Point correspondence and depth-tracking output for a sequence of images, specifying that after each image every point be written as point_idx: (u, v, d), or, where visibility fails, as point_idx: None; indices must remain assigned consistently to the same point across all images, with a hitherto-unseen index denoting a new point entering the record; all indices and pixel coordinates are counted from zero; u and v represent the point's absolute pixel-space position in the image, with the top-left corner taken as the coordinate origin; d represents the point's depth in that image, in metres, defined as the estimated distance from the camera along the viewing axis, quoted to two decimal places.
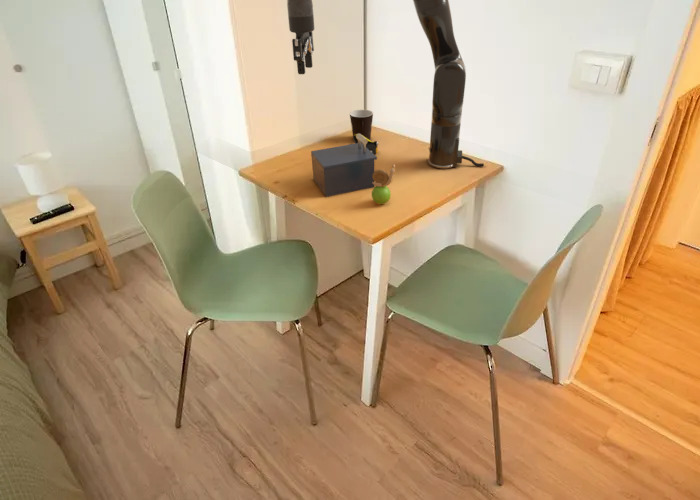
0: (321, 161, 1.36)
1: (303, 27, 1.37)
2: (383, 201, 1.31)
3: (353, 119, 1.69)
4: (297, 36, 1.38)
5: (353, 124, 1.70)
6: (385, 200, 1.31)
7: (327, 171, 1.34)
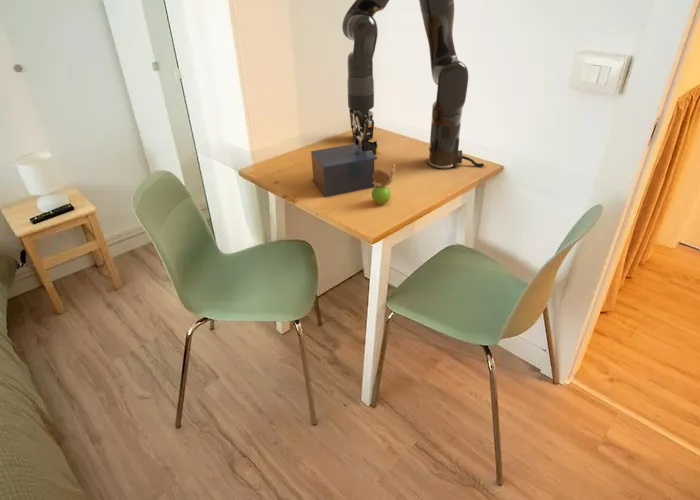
0: (321, 161, 1.36)
1: (370, 104, 1.31)
2: (383, 201, 1.31)
3: None
4: (364, 114, 1.32)
5: None
6: (385, 200, 1.31)
7: (327, 171, 1.34)
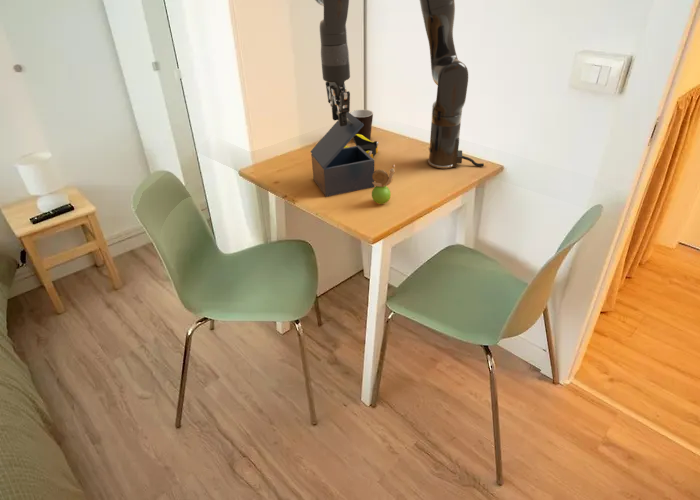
0: (320, 160, 1.36)
1: (345, 75, 1.25)
2: (383, 201, 1.31)
3: None
4: (339, 85, 1.25)
5: None
6: (385, 200, 1.31)
7: (327, 171, 1.34)
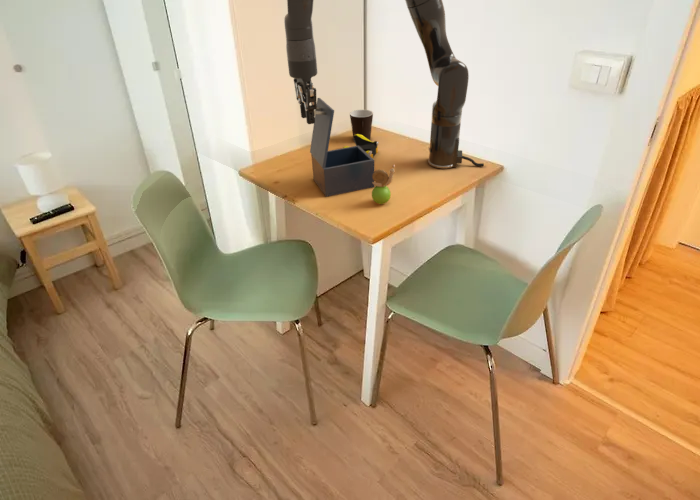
0: (318, 161, 1.36)
1: (312, 71, 1.21)
2: (383, 201, 1.31)
3: (353, 119, 1.69)
4: (306, 82, 1.21)
5: (353, 124, 1.70)
6: (385, 200, 1.31)
7: (327, 171, 1.34)
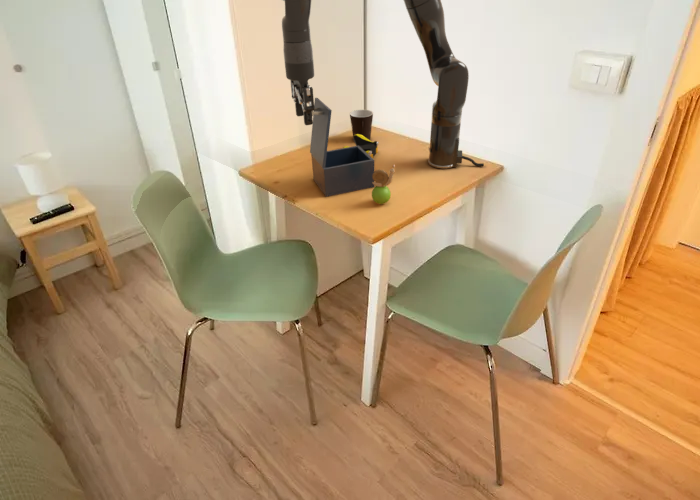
0: (318, 161, 1.36)
1: (309, 73, 1.21)
2: (383, 201, 1.31)
3: (353, 119, 1.69)
4: (303, 84, 1.21)
5: (353, 124, 1.70)
6: (385, 200, 1.31)
7: (327, 171, 1.34)
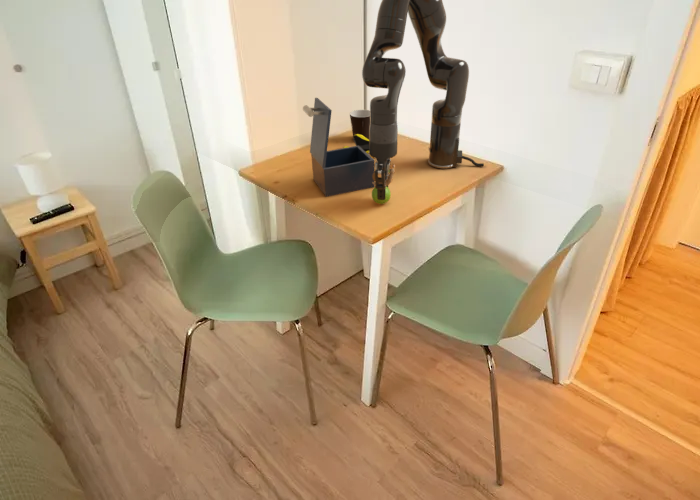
0: (318, 161, 1.36)
1: (387, 154, 1.22)
2: (383, 201, 1.31)
3: (353, 119, 1.69)
4: (379, 162, 1.23)
5: (353, 124, 1.70)
6: (385, 200, 1.31)
7: (327, 171, 1.34)
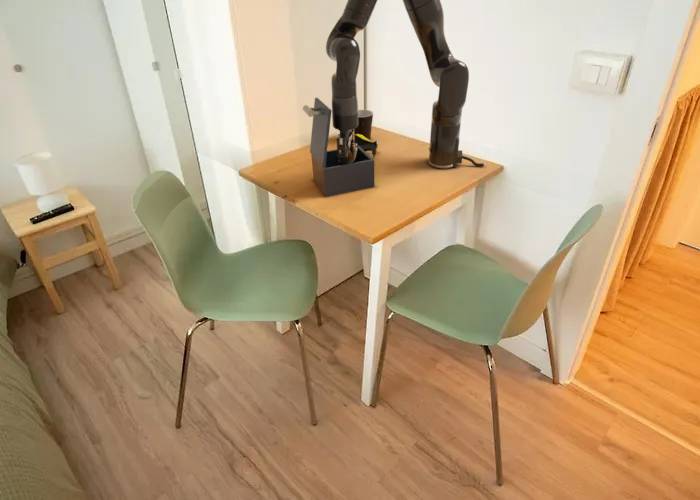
0: (318, 161, 1.36)
1: (348, 125, 1.32)
2: None
3: None
4: (341, 133, 1.33)
5: None
6: None
7: (327, 171, 1.34)
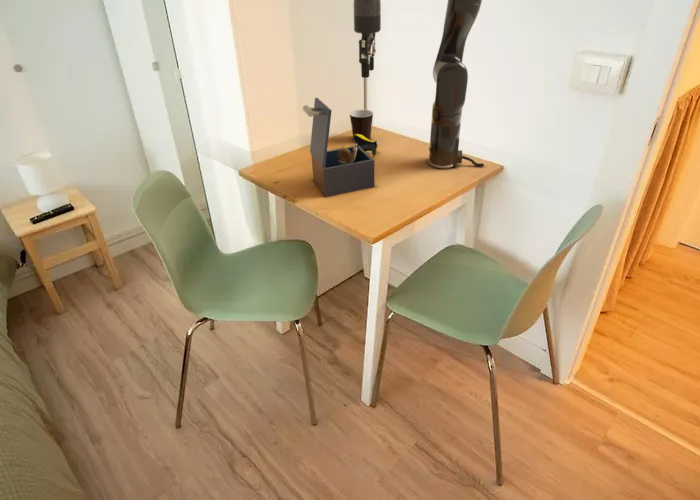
0: (318, 161, 1.36)
1: (370, 27, 1.28)
2: None
3: (353, 119, 1.69)
4: (363, 37, 1.29)
5: (353, 124, 1.70)
6: None
7: (327, 171, 1.34)
